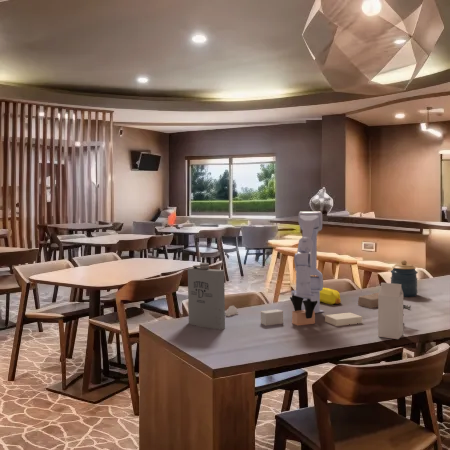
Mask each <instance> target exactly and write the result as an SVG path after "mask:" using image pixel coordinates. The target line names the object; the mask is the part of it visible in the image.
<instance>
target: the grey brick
mask: <svg viewBox="0 0 450 450" xmlns="http://www.w3.org/2000/svg"><path fill="white" fill-rule="evenodd" d="M260 324H261V325H263V326H265V327H266V326H274V325H281V324H284V310H281V309H278V308H277V309H268V310H261V311H260Z"/></svg>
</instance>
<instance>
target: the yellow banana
mask: <svg viewBox="0 0 450 450" xmlns="http://www.w3.org/2000/svg"><path fill="white" fill-rule="evenodd" d="M341 301H342V300H341V293H340V292H339V291H338V290H336V289H333V288H328V287H323V289H322V291H320V303H325V304H328V305H330V306H331V305H332V306H333V305H334V304H335V305H339V304H341V303H342V302H341Z"/></svg>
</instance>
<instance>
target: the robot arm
mask: <svg viewBox="0 0 450 450" xmlns="http://www.w3.org/2000/svg"><path fill="white" fill-rule="evenodd" d="M297 221H298V225H299V228H300V230H301V231H302V236H301V237H300V238H299V240H298V243H297V244H298V245H297V251H296V252H295V253H294V259H293V260H294V270H295V290H291V291H290V293H291V294H290V295H291V296H290V297H289V299H290V301H291V303H292V306H293V309H294V310H293V311H299V310H305V312H306V318H307V319H308V318H312V314H313V311H315V314H317V313H324V312H325V310H323V309H321V306H320V305H321V302H320V291H322V289H323V288H324V278H323V277H324V276H323V275H324V274H323V273H322V272H321V271H320V270H319V269H318V268H317V261H318V260H317V255H318V253H317V250H318V248H317V247H318V246H317V245H318V238H317V237H318V235H319V232H321V231H322V229H323V213H322V211H319V210H318V211H301V210H300V211H299V212H298V217H297Z"/></svg>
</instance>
